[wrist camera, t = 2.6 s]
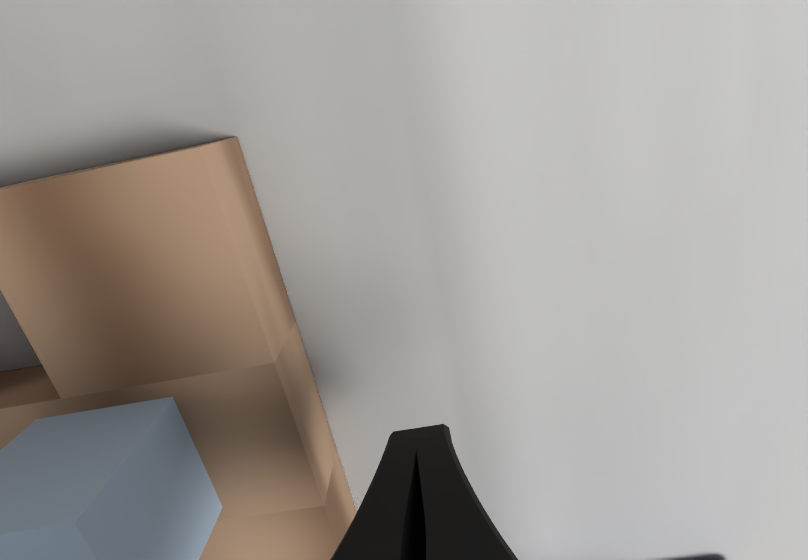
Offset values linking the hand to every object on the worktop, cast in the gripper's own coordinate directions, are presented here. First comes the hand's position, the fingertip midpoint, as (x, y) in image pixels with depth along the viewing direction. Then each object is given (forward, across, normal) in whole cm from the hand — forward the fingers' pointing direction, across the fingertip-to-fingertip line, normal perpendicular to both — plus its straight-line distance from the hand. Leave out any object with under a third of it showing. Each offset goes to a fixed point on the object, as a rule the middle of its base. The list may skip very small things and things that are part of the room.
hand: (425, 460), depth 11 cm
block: (+2, +8, 0) cm, 9 cm away
